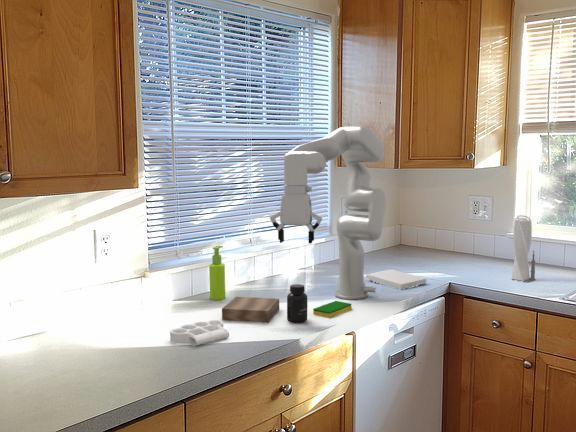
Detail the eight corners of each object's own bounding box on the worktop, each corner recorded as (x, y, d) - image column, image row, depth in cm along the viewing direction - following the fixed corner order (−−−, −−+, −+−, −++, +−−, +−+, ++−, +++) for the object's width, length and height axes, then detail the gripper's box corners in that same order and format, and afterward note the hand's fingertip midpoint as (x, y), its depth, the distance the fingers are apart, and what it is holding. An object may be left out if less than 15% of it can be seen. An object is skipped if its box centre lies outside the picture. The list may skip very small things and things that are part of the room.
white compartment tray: (187, 351, 174) (162, 338, 185) (238, 337, 185) (211, 326, 196) (186, 339, 173) (162, 328, 184) (237, 327, 185) (211, 316, 196)
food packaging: (426, 286, 250) (391, 276, 265) (426, 278, 249) (391, 269, 265) (400, 292, 241) (366, 282, 257) (401, 284, 240) (366, 274, 256)
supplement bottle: (305, 324, 197) (305, 288, 195) (285, 323, 198) (284, 287, 196) (309, 318, 203) (308, 283, 202) (289, 317, 205) (289, 282, 203)
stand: (279, 309, 214) (279, 298, 214) (268, 322, 199) (268, 311, 198) (236, 307, 218) (236, 296, 217) (222, 320, 202) (221, 308, 202)
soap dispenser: (229, 296, 234) (227, 245, 231) (221, 300, 227) (220, 248, 225) (215, 294, 236) (214, 244, 233) (207, 299, 229) (206, 247, 227)
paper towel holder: (525, 283, 250) (528, 216, 246) (507, 280, 256) (509, 214, 252) (535, 280, 255) (538, 214, 252) (517, 276, 261) (519, 213, 258)
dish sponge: (312, 315, 208) (312, 308, 208) (335, 306, 219) (335, 300, 218) (329, 319, 204) (329, 312, 203) (352, 310, 214) (352, 303, 214)
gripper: (323, 189, 197) (324, 241, 199) (272, 189, 201) (273, 240, 203) (320, 191, 190) (320, 245, 192) (267, 191, 194) (267, 243, 196)
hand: (296, 242), depth 198 cm, fingers open, 9 cm apart
